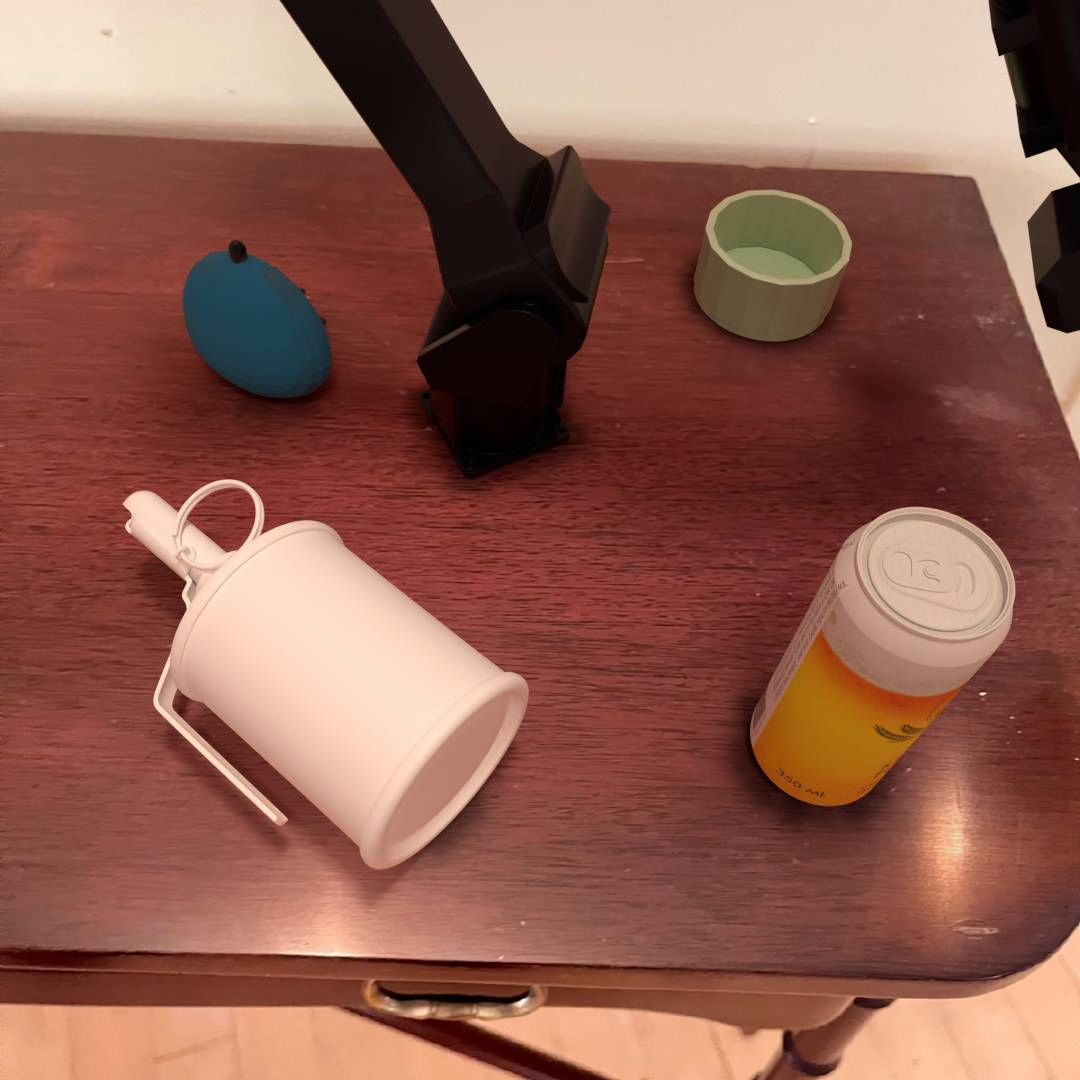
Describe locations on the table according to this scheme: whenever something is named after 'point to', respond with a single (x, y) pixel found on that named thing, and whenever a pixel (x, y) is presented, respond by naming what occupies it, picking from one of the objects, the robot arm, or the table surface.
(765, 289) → the can holder
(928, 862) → the table surface
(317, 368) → the ornament
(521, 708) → the white smoke grenade
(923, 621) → the beer can
